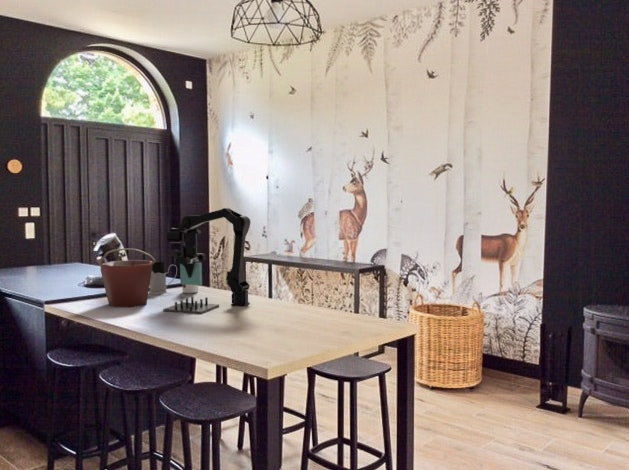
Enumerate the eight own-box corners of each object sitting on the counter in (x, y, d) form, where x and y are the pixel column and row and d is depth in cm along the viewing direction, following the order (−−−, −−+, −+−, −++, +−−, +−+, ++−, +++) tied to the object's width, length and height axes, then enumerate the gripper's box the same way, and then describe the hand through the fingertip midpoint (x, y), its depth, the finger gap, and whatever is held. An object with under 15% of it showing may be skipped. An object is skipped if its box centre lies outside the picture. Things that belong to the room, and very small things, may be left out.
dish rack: (219, 306, 254) (218, 297, 254) (201, 314, 239) (200, 304, 239) (183, 304, 260) (182, 295, 260) (163, 311, 245) (163, 302, 245)
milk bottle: (200, 291, 295) (199, 251, 293) (195, 293, 287) (194, 253, 286) (185, 290, 296) (184, 251, 294) (180, 293, 288) (179, 253, 287)
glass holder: (147, 292, 293) (146, 262, 292) (175, 289, 299) (175, 261, 298) (150, 294, 285) (149, 264, 284) (179, 292, 291) (178, 262, 290)
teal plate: (202, 284, 264) (201, 262, 263) (199, 285, 262) (199, 263, 262) (182, 283, 267) (182, 262, 267) (180, 284, 265) (180, 262, 265)
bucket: (92, 308, 252) (91, 251, 250) (109, 299, 274) (107, 246, 272) (149, 308, 252) (148, 250, 250) (161, 298, 274) (160, 246, 272)
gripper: (185, 241, 275) (186, 273, 276) (163, 244, 257) (164, 279, 258) (206, 241, 271) (207, 274, 272) (185, 245, 254) (186, 280, 255)
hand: (191, 277), depth 265 cm, fingers closed on teal plate, 2 cm apart
